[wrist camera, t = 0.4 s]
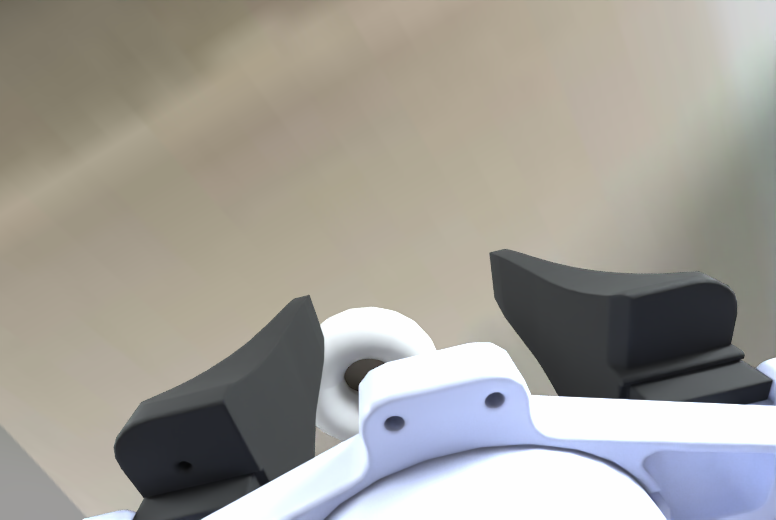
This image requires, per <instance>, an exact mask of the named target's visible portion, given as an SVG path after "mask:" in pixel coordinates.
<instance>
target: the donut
mask: <svg viewBox="0 0 776 520" xmlns="http://www.w3.org/2000/svg"><path fill="white" fill-rule="evenodd" d="M320 327H321V329H322V332H323V335H324V349H325V350H324V365H323V372H322V379H321V385H320V391H319V398H318V404H317V412H316V426H317V427H318V428H320V429H321V430H322V431H323V432H324V433H326V434H328V435H330V436H332V437H334V438H337V439H339V440H341V441H343V442H344V441H346V440H348V439H349V438H351V437H353V436H355V435H357V434H359V392H358V391H356V390H354V389H351V388H350V387H349V386H348V385H347V383H346V381H345V379H344V374H345V371H346V369H347V368H348V367H349V366H350V365H351V364H352V363H353V362H356V361H358V360H360V359H369V358H371V359H377V360H381V361H383V362H385V363H387V362H392V361H396V360H400V359H404V358H409V357H413V356H417V355H422V354H426V353H430V352H434V351H436V349H435V347H434V345H433V342H432V340H431V339H430V337H429V336H428V335H427V334H426V333H425V332H424V331H423V330H422V329H421V328H420V327H419V326H418V325H417V323H416V322H414V321H413V320H411V319H409V318H407V317H405V316H403V315H401V314H400V313H398V312H396V311H392V310H387V309H381V308H376V307H366V308H356V309H349V310H346V311H344V312H342V313H339V314H337V315H335V316H332V317H330V318H328V319H327V320H326V321H324V322H323V323H322V324H321V325H320Z"/></svg>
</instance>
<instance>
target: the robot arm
mask: <svg viewBox="0 0 776 520" xmlns="http://www.w3.org/2000/svg"><path fill="white" fill-rule="evenodd" d="M490 262H491V271H492V280H493V289H494V297H495V300H496V302H497V303H498V305H499V307H500V309H501V311H502V313H503V315H504V316H505V318H506V319H507V321H508V322H509V323H510V325H511V326H512V327H513V329H514V330H515V331H516V333H517V334H518V335H519V337H520V338H521V339H522V340H523V342H524V343H525V344H526V346H527V347H528V348H529V350H530V351H531V352H532V354H533V355H534V356H535V358H536V359H537V361H538V362H539V364H540V365H541V367H542V368H543V370H544V372H545V373H546V375H547V377H548V379H549V380H550V382H551V384H552V385H553V387H554V389H555V391H556V392H557V394H558V396H537V395H531V394H530V392H529V390H528V387H527V385H526V383H525V381H524V379H523V378H522V376H521V374H520V373H519V371H518V369H517V368H516V366H515V365H514V363H513V361H512V360H511V358H510V357H509V355H508V353H507V352H506V351H505V350H503V349H502V348H500V347H498V346H496V345H494V344H492V343H469V344H464V345H460V346H456V347H451V348H447V349H443V350H439V351H434V352H430V353H426V354H422V355H417V356H413V357H409V358H404V359H400V360H396V361H392V362H387V363H385V364H383V365H381V366H379V367H377V368H375V369H373V370H370V371H369V372H368V374H367V375H366V376H365V378H364V379H363V380H362V382H361V383H360V384H359V434H357V435H355V436H353V437H351V438H349V439H348V440H346V441H344V442H342V443H340V444H338V445H337V446H335V447H333V448H331V449H329V450H327V451H326V452H324V453H322V454H320V455H318V456H316V457H315V427H316V412H317V404H318V398H319V391H320V385H321V379H322V372H323V365H324V350H325V349H324V335H323V332H322V329H321V327H320V324H319V321H318V318H317V315H316V312H315V309H314V307H313V304H312V301H311V298H310V295H307V296H303V297H299V298H295V299H293V300H292V301H291V302H290V303H288V304H287V305H286V306H285V307H284V308H283V309H282V310H281V311H280V312H279V313H278V314H277V315H276V316H275V317H274V318H273V319H272V320H271V321H270V322H269V323H268V324H267V325H266V326H265V327H264V328H263V329H262V330H261V331H260V332H259V333H258V334H256V335H255V336H254V337H253V338H252V339H251V340H250V341H249V342H247V343H246V344H245V345H244V346H242V347H241V348H240V349H238V350H237V351H236V352H234V353H233V354H232V355H230V356H229V357H227V358H226V359H224V360H223V361H221V362H220V363H218V364H216V365H215V366H213V367H212V368H210V369H209V370H207V371H205V372H203V373H202V374H200V375H198V376H196V377H194V378H193V379H191V380H189V381H187V382H185V383H183V384H181V385H179V386H177V387H175V388H173V389H170V390H168V391H166V392H164V393H161V394H159V395H157V396H154V397H152V398H150V399H148V400H145V401H143V402H141V403H140V405H139V406H138V408H137V409H136V410H135V412H134V413H133V415H132V416H131V417H130V419H129V420H128V422H127V423H126V425H125V426H124V427H123V429H122V430H121V432H120V433H119V434H118V436H117V437H116V440H115V444H114V453H115V458H116V460H117V462H118V463H119V465H120V467H121V469H122V470H123V471H124V473H125V474H126V475H127V477H128V478H129V479H130V481H131V482H132V483H133V485H134V486H135V487H136V488H137V490H138V491H139V492H140V494H141V495H142V496H143V498H144V499H143V501H142V503H141V505H140V507H139V509H138V511H137V512H134V511H131V510H118V511H114V512H110V513H106V514H101V515H97V516H93V517H88V518H85V519H82V520H776V358H773V359H769V360H766V361H764V362H762V363H761V364H759V365H758V366H757V367H756V369H755V368H753V367H752V366H750V365H749V364H747V363H745V362H744V361H742V360H741V359H744V356H745V354H744V352H743V351H742V350H740V349H739V348H737V347H736V346H734V345H732V344H731V341H732V336H733V331H734V326H735V321H736V317H737V300H736V296H735V293H734V292H733V291H732V290H731V288H730V287H729V286H728V285H726V284H724V283H722V282H720V281H718V280H716V279H714V278H712V277H710V276H708V275H706V274H704V273H702V272H700V271H696V272H680V273H664V274H632V273H614V272H603V271H594V270H588V269H581V268H575V267H570V266H566V265H562V264H557V263H553V262H550V261H546V260H542V259H539V258H536V257H532V256H529V255H526V254H523V253H519V252H516V251H512V250H508V249H503V250H499V251H494V252H490Z"/></svg>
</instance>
